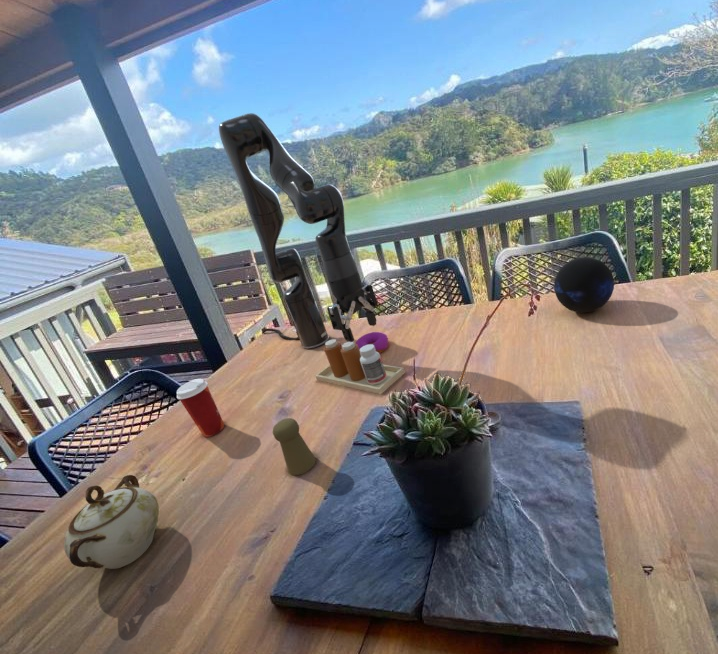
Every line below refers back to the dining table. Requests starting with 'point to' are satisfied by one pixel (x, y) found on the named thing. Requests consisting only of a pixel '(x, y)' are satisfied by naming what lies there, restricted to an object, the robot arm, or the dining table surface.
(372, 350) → the pill bottle
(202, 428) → the paper cup
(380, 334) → the donut
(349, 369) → the amber bottle middle
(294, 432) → the olive green pawn
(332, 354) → the amber bottle far
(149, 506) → the sugar bowl
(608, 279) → the decorative sphere
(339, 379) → the tray
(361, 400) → the dining table surface
